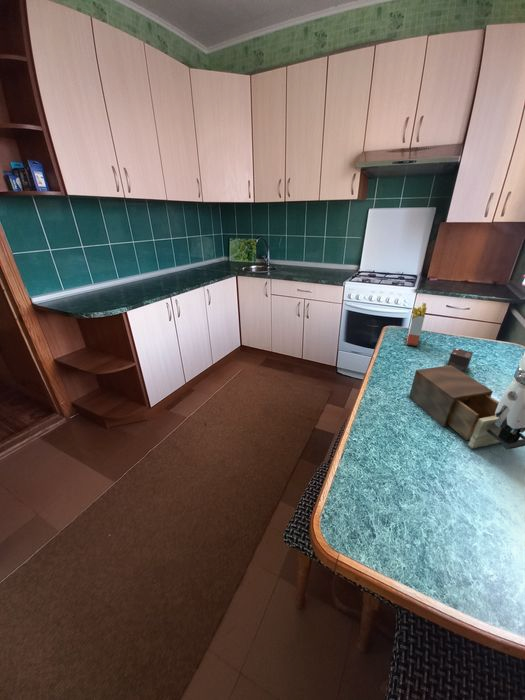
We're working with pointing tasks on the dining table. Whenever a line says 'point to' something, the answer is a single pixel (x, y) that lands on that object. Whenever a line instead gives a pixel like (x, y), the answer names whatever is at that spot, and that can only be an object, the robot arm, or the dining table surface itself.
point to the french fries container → (416, 325)
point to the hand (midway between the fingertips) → (506, 442)
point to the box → (460, 359)
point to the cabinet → (443, 390)
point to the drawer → (479, 422)
